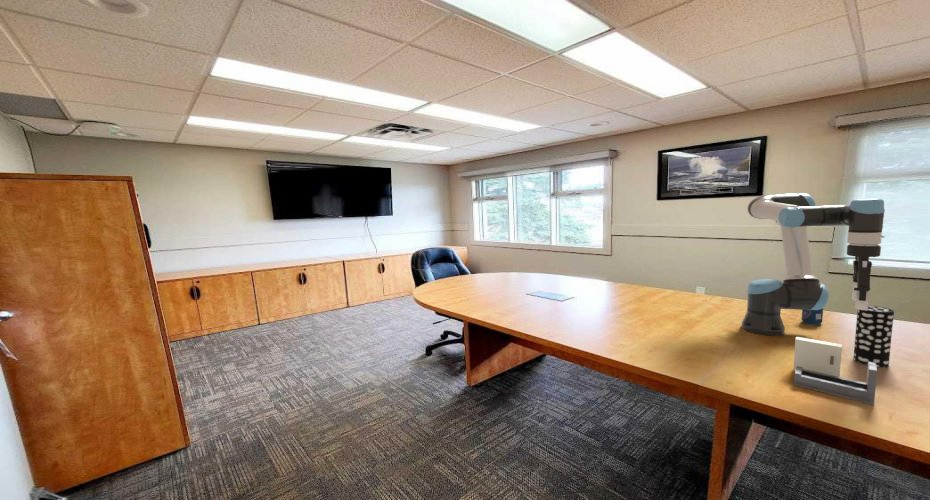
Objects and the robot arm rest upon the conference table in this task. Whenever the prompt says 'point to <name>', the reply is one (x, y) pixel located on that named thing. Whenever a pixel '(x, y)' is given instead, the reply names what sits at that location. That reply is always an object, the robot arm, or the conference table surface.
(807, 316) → the soda can
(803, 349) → the door panel
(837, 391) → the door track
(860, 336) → the white-spotted black cylinder
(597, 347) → the conference table surface
